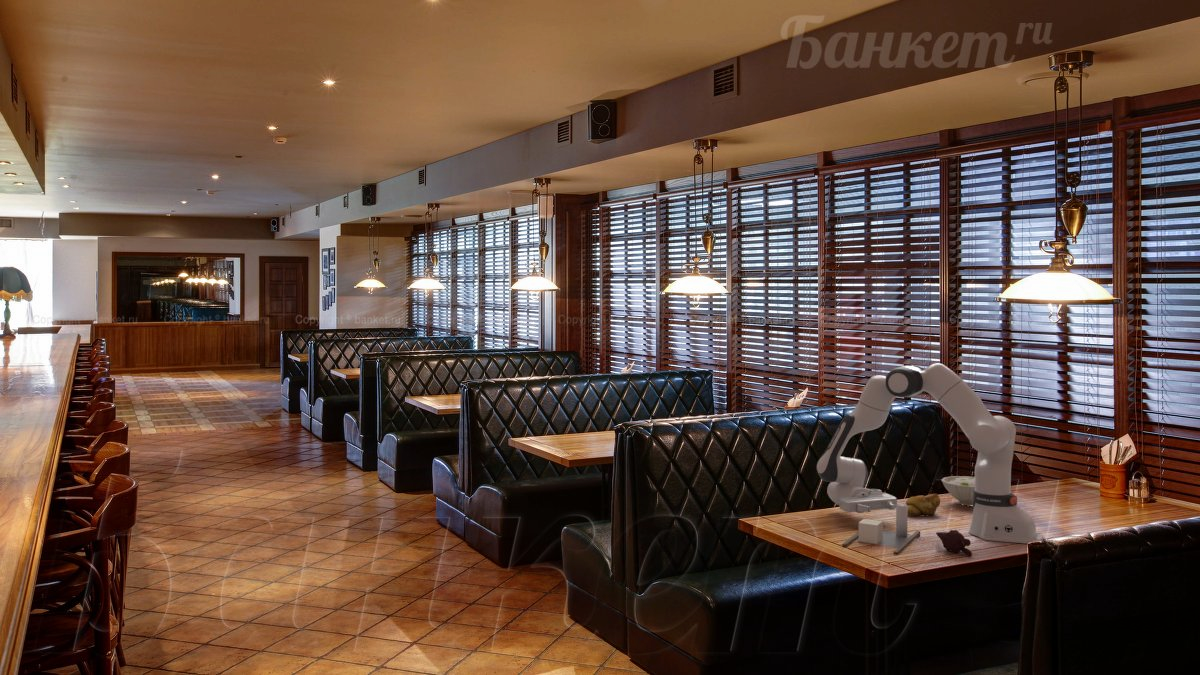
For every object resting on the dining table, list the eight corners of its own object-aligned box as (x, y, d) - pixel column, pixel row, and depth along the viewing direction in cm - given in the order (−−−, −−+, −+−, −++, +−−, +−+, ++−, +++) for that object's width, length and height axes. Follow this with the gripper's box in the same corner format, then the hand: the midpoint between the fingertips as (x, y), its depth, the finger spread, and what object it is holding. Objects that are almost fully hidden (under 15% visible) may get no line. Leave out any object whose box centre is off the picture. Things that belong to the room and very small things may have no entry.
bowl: (1007, 508, 336) (1007, 482, 335) (960, 511, 332) (960, 484, 331) (975, 497, 355) (975, 472, 354) (931, 500, 351) (931, 474, 350)
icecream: (925, 527, 287) (959, 543, 274) (944, 519, 290) (978, 534, 276) (928, 546, 289) (962, 563, 275) (947, 538, 291) (981, 555, 277)
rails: (920, 537, 299) (920, 531, 299) (897, 558, 275) (897, 552, 275) (868, 530, 308) (868, 524, 308) (842, 550, 285) (842, 543, 285)
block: (882, 539, 292) (882, 521, 292) (877, 543, 287) (877, 525, 287) (864, 536, 295) (864, 518, 295) (858, 541, 290) (858, 522, 290)
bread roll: (913, 519, 322) (914, 497, 322) (896, 513, 331) (896, 491, 331) (943, 516, 327) (943, 494, 326) (924, 510, 336) (925, 488, 335)
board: (913, 537, 297) (913, 504, 297) (899, 550, 283) (899, 516, 282) (870, 531, 305) (870, 499, 304) (854, 544, 290) (854, 510, 290)
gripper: (832, 493, 318) (853, 501, 305) (883, 488, 324) (906, 497, 310) (832, 510, 318) (853, 520, 305) (883, 506, 324) (906, 515, 311)
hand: (880, 508), depth 308 cm, fingers open, 8 cm apart
